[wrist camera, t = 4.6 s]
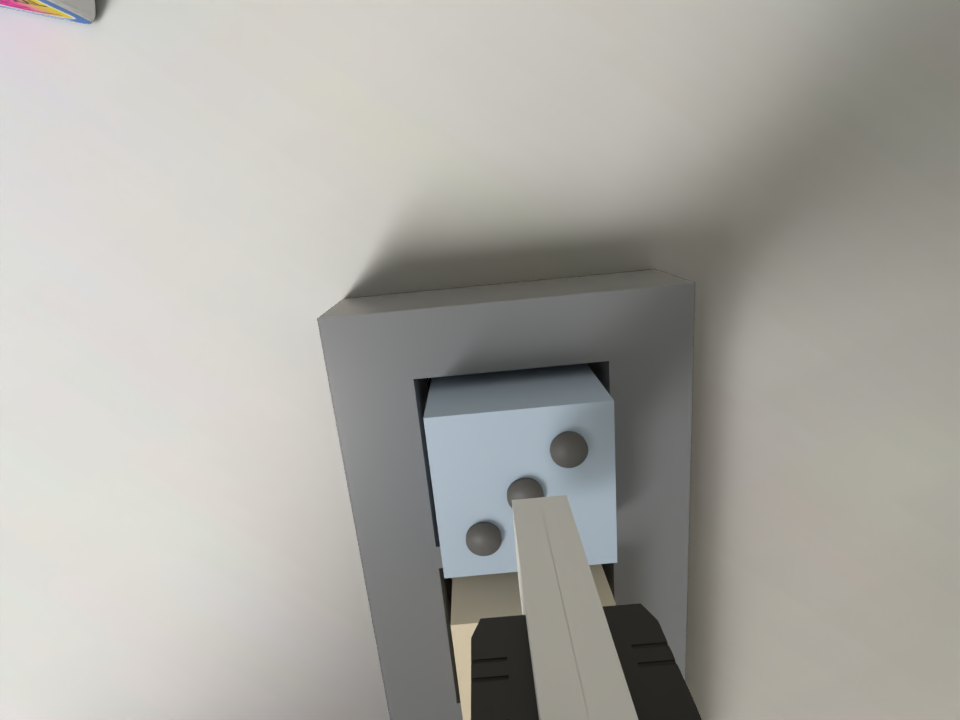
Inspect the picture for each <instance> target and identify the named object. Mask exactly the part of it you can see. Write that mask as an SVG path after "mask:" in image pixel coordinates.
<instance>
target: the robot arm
mask: <svg viewBox="0 0 960 720" xmlns="http://www.w3.org/2000/svg"><path fill="white" fill-rule="evenodd" d="M512 510H513V522H514V534H515V546H516V558H517V570H518V582H519V590H520V599H521V607H522V615H516V616H504V617H493V618H481V619H480V621H479V623H478V625H477V627H476V629H475V631H474V633H473V635H472V637H471V720H702V719H701V717H700V714H699V712H698V710H697V708H696V705H695V703H694V701H693V699H692V696H691V694H690V692H689V689H688V687H687V685H686V683H685V680H684V678H683V676H682V674H681V671H680V669H679V667H678V665H677V664H676V661H675V658H674V656H673V653H672V651H671V649H670V646H668V642H667V640H666V637H665V635H664V633H663V631H662V628H661V626H660V624H659V622H658V620H657V619H656V618H655V617H654V616H653V615H652V614H651V613H650V612H649V611H648V610H647V609H646V608H645V607H644V606H643V605H642V604H641V603H639V604H627V605H615V606H603V607H602V604H601V601H600V598H599V595H598V592H597V589H596V586H595V582H594V579H593V576H592V573H591V570H590V567H589V564H588V560H587V557H586V554H585V551H584V548H583V545H582V542H581V539H580V535H579V532H578V529H577V526H576V523H575V520H574V517H573V514H572V510H571V507H570V504H569V501H568V498H567V495H563V496H551V497H540V498H529V499H517V500H512Z"/></svg>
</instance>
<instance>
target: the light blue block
mask: <svg viewBox="0 0 960 720" xmlns="http://www.w3.org/2000/svg"><path fill="white" fill-rule="evenodd" d="M423 420H424V428H425V435H426V443H427V450H428V458H429V466H430V473H431V481H432V488H433V496H434V504H435V511H436V519H437V526H438V534H439V542H440V549H441V557H442V564H443V572H444V578H454V577H465V576H476V575H487V574H498V573H509V572H518V570H517V558H516V546H515V534H514V522H513V510H512V500H517V499H529V498H540V497H551V496H563V495H567V498H568V501H569V504H570V507H571V510H572V514H573V517H574V520H575V523H576V526H577V529H578V532H579V535H580V539H581V542H582V545H583V548H584V551H585V554H586V557H587V560H588V564H589V565H596V564H607V563H617V522H616V473H615V423H614V400H613V398H612V397H611V396H610V394H609V393H608V392H607V390H606V389H605V388H604V386H603V385H602V384H601V382H600V381H599V380H598V378H597V377H596V376H595V374H594V373H593V371H592V370H591V369H590V367H589V366H588V365H587V364H576V365H565V366H554V367H544V368H533V369H522V370H512V371H501V372H490V373H480V374H469V375H458V376H448V377H437V378H432V379H431V384H430V389H429V393H428V398H427V403H426V408H425V412H424V417H423Z"/></svg>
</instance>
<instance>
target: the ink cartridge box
mask: <svg viewBox="0 0 960 720" xmlns="http://www.w3.org/2000/svg"><path fill="white" fill-rule="evenodd" d="M0 7H5V8H10V9H14V10H19V11H24V12H28V13H33V14H38V15H43V16H48V17H52V18H57V19H62V20H68V21H73V22H79V23H85V24H91V23H92V22H93V20H94V19H95V14H96V12H95V0H0Z"/></svg>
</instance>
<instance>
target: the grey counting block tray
mask: <svg viewBox="0 0 960 720" xmlns="http://www.w3.org/2000/svg"><path fill="white" fill-rule="evenodd" d="M694 306H695V283H693V282H691V281H688V280H685V279H682V278H679V277H676V276H673V275H670V274H668V273H665V272H662V271H659V270H656V269H652V270H642V271H631V272H621V273H610V274H599V275H589V276H578V277H568V278H557V279H547V280H536V281H525V282H515V283H504V284H494V285H483V286H472V287H462V288H451V289H441V290H430V291H419V292H409V293H398V294H388V295H377V296H366V297H356V298H345V299H342V300H341V301H340V302H338V303H337V304H336V305H335V306H333V307H332V308H331V309H329V310H328V311H327V312H325V313H324V314H323V315H321V316H320V317H319V318H317V321H318V326H319V332H320V337H321V343H322V348H323V354H324V359H325V364H326V370H327V375H328V381H329V386H330V392H331V397H332V403H333V408H334V414H335V419H336V425H337V430H338V436H339V441H340V447H341V452H342V458H343V463H344V468H345V474H346V479H347V485H348V490H349V496H350V501H351V507H352V512H353V518H354V523H355V529H356V534H357V540H358V545H359V551H360V556H361V561H362V567H363V572H364V578H365V583H366V589H367V594H368V600H369V605H370V611H371V616H372V622H373V627H374V633H375V638H376V644H377V649H378V654H379V660H380V665H381V671H382V676H383V682H384V687H385V693H386V698H387V704H388V709H389V715H390V720H463V716H462V709H461V701H460V694H459V686H458V678H457V671H456V663H455V656H454V648H453V640H452V633H451V602H452V578H444V572H443V564H442V557H441V549H440V542H439V534H438V526H437V519H436V511H435V504H434V496H433V488H432V481H431V473H430V466H429V458H428V450H427V443H426V435H425V428H424V420H423V417H424V412H425V408H426V403H427V398H428V388H427V380H426V378H433V377H443V376H454V375H465V374H476V373H486V372H497V371H508V370H518V369H529V368H540V367H550V366H561V365H572V364H582V363H586V364H587V365H588V366H589V367H590V369H591V370H592V371H593V373H594V374H595V376H596V377H597V378H598V380H599V381H600V382H601V384H602V385H603V386H604V388H605V389H606V390H607V392H608V393H609V394H610V396H611V397H612V398H613V400H614V423H615V473H616V522H617V563H607V564H601V565H602V567H603V570H604V573H605V576H606V578H607V581H608V584H609V586H610V589H611V592H612V594H613V597H614V600H615V603H616V605H627V604H639V603H641V604H642V605H643V606H644V607H645V608H646V609H647V610H648V611H649V612H650V613H651V614H652V615H653V616H654V617H655V618H656V619H657V620H658V622H659V624H660V626H661V628H662V631H663V633H664V635H665V637H666V640H667V642H668V646H670V649H671V651H672V653H673V656H674V658H675V661H676V664H677V665H678V667H679V669H680V671H681V674H682V676H683V678H684V680H685V668H686V627H687V587H688V547H689V507H690V467H691V427H692V386H693V346H694Z"/></svg>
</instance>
